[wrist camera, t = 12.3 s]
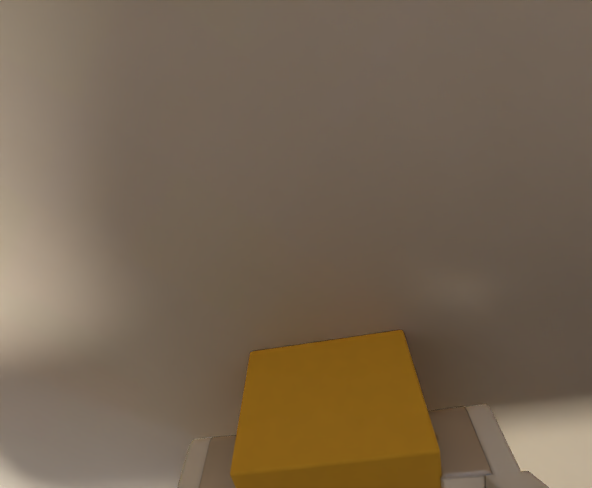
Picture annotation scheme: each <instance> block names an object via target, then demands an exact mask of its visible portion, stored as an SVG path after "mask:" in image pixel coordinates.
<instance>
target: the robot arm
mask: <svg viewBox="0 0 592 488" xmlns="http://www.w3.org/2000/svg"><path fill="white" fill-rule="evenodd" d="M428 413H429V416H430V419H431V423H432V426H433V429H434V432H435V436H436V439H437V442H438V445H439V449H440V457H441V471H442V474H441V476H440V483H441V488H549V487H548V486H547V485H545V484H544V483H543V482H542V481H540V480H539V479H538V478H537V477H535V476H534V475H533V474H531V473H530V472H529V471H520V468H519V466H518V464H517V462H516V460H515V458H514V456H513V454H512V452H511V450H510V448H509V445H508V443H507V441H506V439H505V437H504V435H503V433H502V431H501V429H500V427H499V425H498V422H497V420H496V418H495V416H494V414H493V412H492V410H491V408H490V407H489V406H488V405H487V404H480V405H472V406H465V407H463V406H460V407H453V408H446V409H438V410H431V411H428ZM235 440H236V435H229V436H219V437H209V438H200V439H193V440H192V442H191V444H190V445H189V448H188V451H187V455H186V458H185V462H184V466H183V469H182V473H181V476H180V480H179V483H178V487H177V488H236V487H235V485H234V483H233V481H232V478H231V476H230V470H231V464H232V458H233V452H234V446H235Z"/></svg>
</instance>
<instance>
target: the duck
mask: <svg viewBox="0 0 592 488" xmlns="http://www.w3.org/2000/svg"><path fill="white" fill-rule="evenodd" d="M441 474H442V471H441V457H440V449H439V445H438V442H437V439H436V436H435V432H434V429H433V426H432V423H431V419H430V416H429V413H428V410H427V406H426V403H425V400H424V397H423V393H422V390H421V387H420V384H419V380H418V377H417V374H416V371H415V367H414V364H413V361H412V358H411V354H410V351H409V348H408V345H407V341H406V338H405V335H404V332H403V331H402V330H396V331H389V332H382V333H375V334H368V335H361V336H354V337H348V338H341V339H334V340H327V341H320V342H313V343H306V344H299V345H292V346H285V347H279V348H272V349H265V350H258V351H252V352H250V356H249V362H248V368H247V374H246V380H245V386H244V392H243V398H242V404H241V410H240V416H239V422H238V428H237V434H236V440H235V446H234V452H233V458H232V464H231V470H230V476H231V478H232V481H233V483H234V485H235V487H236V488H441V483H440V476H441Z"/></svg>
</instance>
